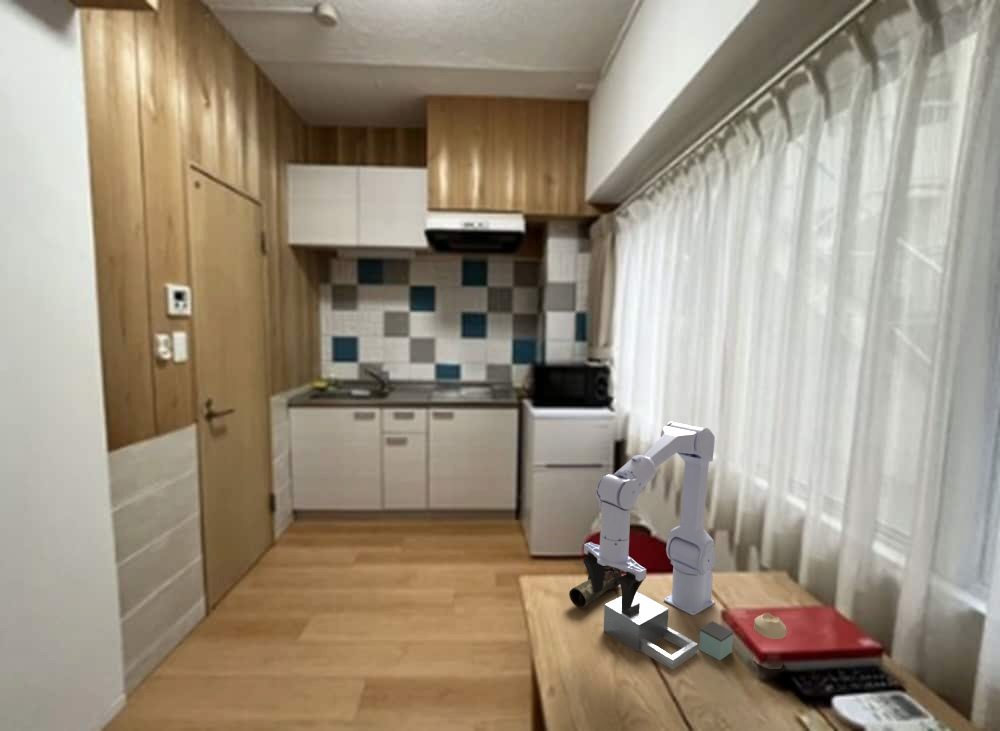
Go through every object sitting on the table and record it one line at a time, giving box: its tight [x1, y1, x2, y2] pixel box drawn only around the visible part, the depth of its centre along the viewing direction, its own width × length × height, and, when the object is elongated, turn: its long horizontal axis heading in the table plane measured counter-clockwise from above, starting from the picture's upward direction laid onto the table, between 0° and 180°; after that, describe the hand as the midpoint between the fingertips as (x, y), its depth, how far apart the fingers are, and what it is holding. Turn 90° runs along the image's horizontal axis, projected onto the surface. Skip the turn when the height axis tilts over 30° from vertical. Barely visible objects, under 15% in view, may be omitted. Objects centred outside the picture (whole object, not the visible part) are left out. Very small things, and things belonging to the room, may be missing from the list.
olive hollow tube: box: [568, 565, 623, 609], centre depth 124 cm, size 18×7×6 cm, turn 136°
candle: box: [753, 612, 787, 639], centre depth 99 cm, size 6×6×10 cm
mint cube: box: [698, 620, 734, 661], centre depth 103 cm, size 4×4×5 cm
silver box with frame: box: [603, 591, 699, 670], centre depth 107 cm, size 13×16×8 cm
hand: (611, 599), depth 104 cm, fingers open, 7 cm apart
